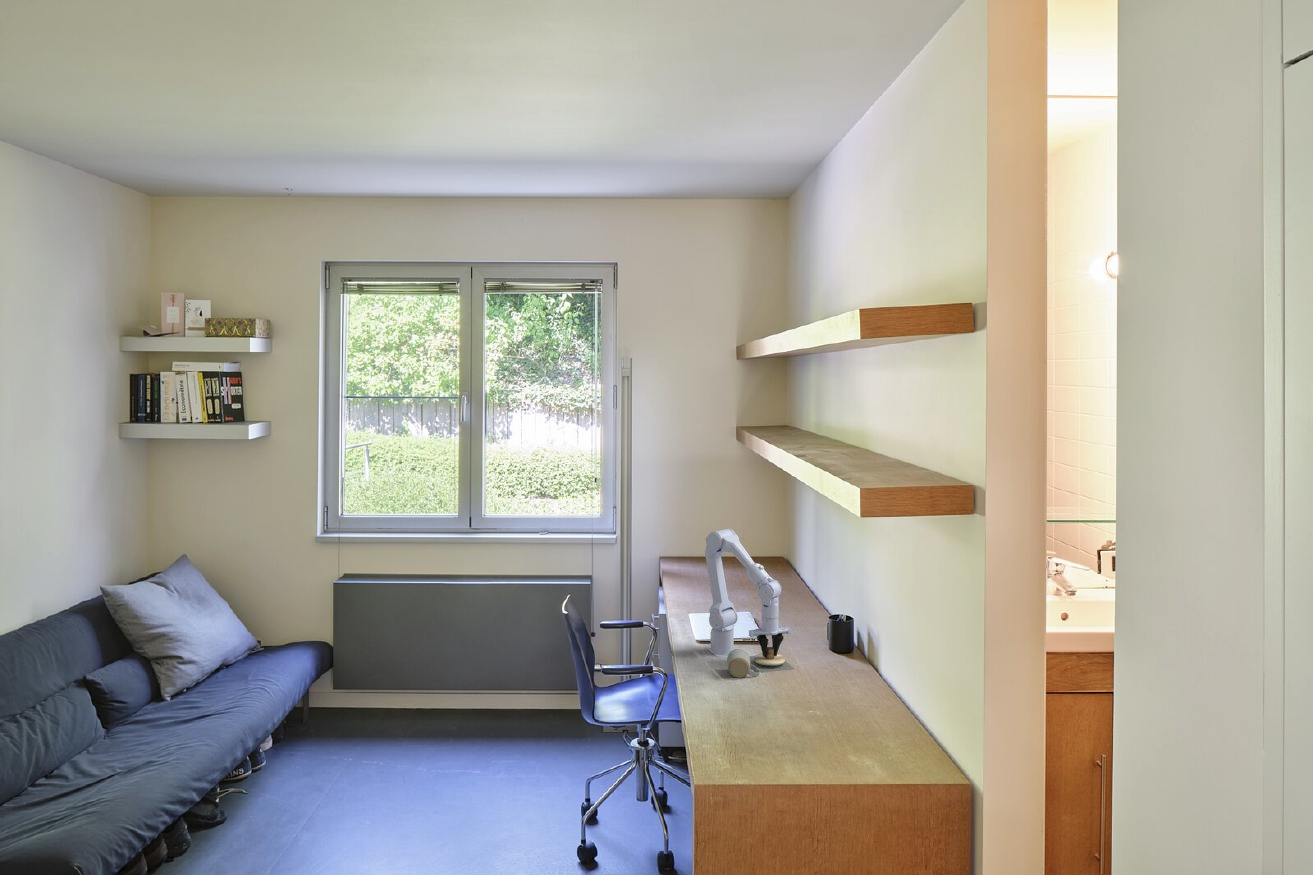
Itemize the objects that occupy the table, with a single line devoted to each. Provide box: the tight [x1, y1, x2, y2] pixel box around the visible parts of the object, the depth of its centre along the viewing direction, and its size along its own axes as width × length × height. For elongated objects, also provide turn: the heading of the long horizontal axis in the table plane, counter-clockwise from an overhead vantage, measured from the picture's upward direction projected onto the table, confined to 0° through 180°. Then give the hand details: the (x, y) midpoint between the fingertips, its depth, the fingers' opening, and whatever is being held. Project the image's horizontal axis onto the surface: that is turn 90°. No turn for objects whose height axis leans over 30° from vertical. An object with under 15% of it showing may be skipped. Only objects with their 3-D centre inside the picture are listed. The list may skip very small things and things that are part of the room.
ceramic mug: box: [726, 648, 761, 679], centre depth 268 cm, size 11×8×8 cm
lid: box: [754, 646, 786, 666], centre depth 278 cm, size 10×10×4 cm
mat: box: [749, 655, 796, 673], centre depth 279 cm, size 16×12×1 cm
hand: (769, 656), depth 278 cm, fingers closed on lid, 3 cm apart
